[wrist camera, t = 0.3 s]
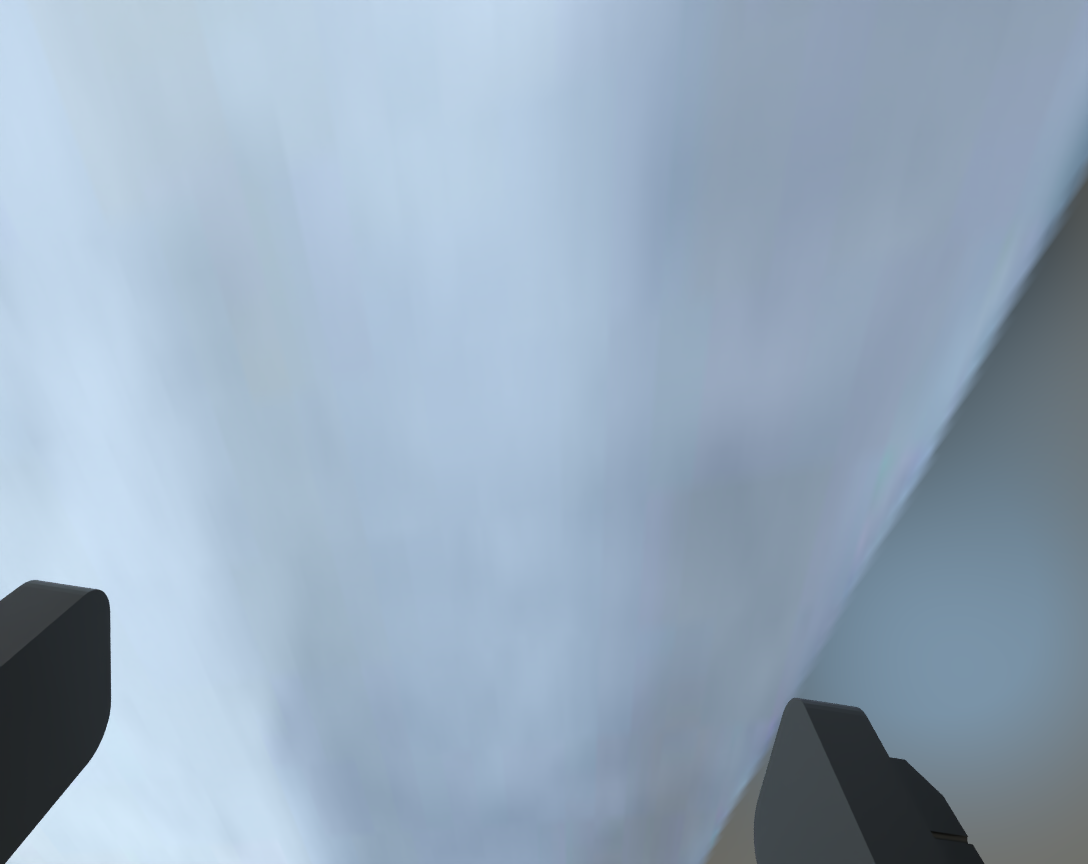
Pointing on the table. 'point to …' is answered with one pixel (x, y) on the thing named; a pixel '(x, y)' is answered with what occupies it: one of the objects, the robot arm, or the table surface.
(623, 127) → the table surface
